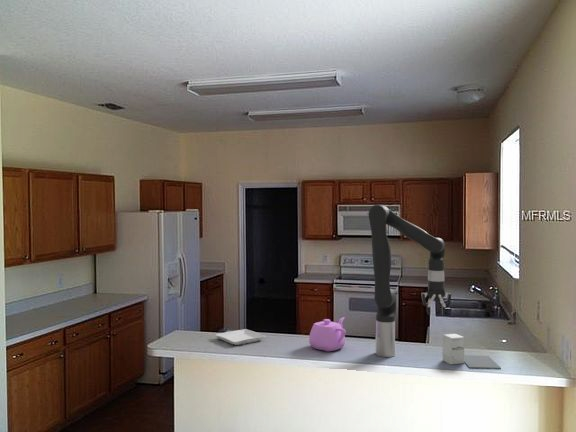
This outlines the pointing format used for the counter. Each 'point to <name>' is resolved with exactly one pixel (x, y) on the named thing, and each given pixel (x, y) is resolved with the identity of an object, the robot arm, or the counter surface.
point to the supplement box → (453, 348)
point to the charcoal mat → (480, 362)
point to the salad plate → (240, 336)
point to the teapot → (327, 335)
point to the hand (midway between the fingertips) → (436, 314)
